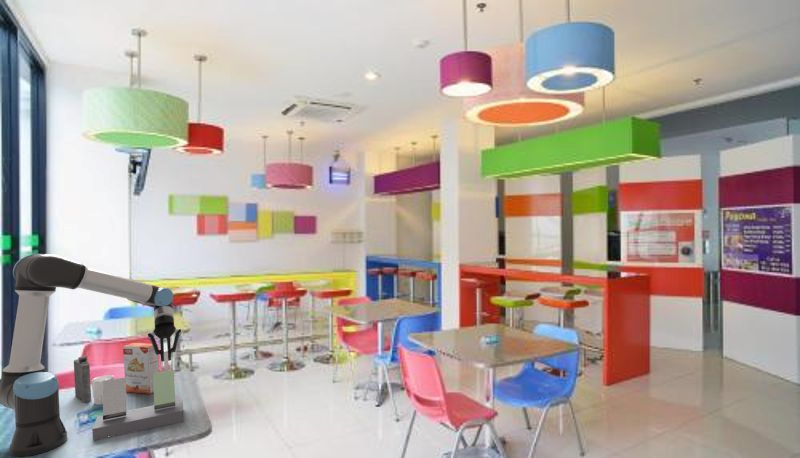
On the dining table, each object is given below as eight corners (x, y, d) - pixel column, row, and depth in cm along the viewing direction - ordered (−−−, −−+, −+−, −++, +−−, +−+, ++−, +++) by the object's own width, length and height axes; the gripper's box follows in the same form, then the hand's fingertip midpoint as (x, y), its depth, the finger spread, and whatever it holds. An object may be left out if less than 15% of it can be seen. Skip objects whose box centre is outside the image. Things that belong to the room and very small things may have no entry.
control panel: (97, 427, 164) (97, 416, 164) (182, 409, 177) (182, 399, 177) (92, 440, 153) (92, 429, 153) (183, 421, 166) (183, 410, 166)
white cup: (119, 398, 193) (118, 374, 193) (105, 405, 185) (104, 381, 185) (102, 398, 194) (101, 375, 194) (88, 405, 186) (86, 381, 186)
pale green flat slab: (154, 410, 167) (153, 373, 172) (175, 406, 171) (173, 370, 176) (154, 409, 166) (153, 372, 171) (175, 405, 169) (173, 369, 174)
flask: (84, 393, 201) (82, 353, 201) (94, 400, 191) (92, 358, 191) (74, 395, 198) (72, 355, 198) (84, 403, 189) (82, 360, 188)
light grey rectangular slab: (103, 420, 160) (103, 381, 165) (126, 415, 163) (126, 378, 168) (102, 419, 159) (103, 381, 164) (125, 415, 162) (125, 377, 167)
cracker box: (124, 392, 199) (122, 345, 199) (136, 387, 205) (133, 342, 205) (149, 394, 195) (147, 346, 195) (160, 389, 201) (158, 343, 201)
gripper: (180, 322, 202) (184, 369, 187) (147, 326, 196) (148, 375, 181) (180, 312, 197) (184, 359, 182) (146, 316, 191) (147, 365, 176)
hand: (166, 367), depth 182 cm, fingers closed
